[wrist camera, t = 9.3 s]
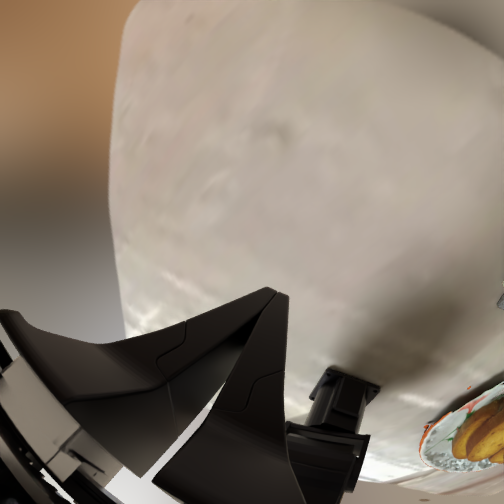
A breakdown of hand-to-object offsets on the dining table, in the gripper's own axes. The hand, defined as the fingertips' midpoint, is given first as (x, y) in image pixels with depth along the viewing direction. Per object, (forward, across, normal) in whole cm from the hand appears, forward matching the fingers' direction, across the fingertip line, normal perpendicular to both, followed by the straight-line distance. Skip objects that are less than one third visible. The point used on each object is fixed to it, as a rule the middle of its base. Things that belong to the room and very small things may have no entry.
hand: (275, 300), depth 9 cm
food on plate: (+13, -33, +16) cm, 39 cm away
